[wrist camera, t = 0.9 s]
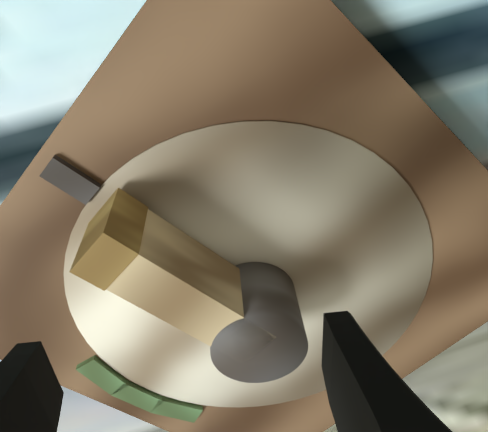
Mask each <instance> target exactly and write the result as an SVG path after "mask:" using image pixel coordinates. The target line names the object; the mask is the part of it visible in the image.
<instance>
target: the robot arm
mask: <svg viewBox="0 0 488 432" xmlns="http://www.w3.org/2000/svg"><path fill="white" fill-rule="evenodd" d="M321 367H322V371H323V376H324V381H325V386H326V391H327V396H328V400H329V405H330V408H331V411H332V414H333V418H334V421H335V424H336V427H337V430H338V432H452V431H451V430H450V429H449V428H448V427H447V426H446V425H445V424H444V423H443V422H442V421H441V420H440V419H439V418H438V417H437V416H436V415H435V414H434V413H433V412H432V411H431V410H430V409H429V408H428V407H427V406H426V405H425V404H424V403H423V402H422V401H421V400H420V399H419V398H418V396H417V395H416V394H415V393H414V392H413V391H412V390H411V389H410V388H409V387H408V385H407V384H406V383H405V382H404V381H403V380H402V379H401V377H400V376H399V375H398V374H397V373H396V372H395V370H394V369H393V368H392V367H391V366H390V365H389V363H388V362H387V361H386V360H385V359H384V357H383V356H382V355H381V354H380V352H379V351H378V350H377V349H376V347H375V346H374V345H373V343H372V342H371V341H370V340H369V338H368V337H367V336H366V334H365V333H364V332H363V330H362V329H361V327H360V326H359V325H358V323H357V322H356V320H355V319H354V317H353V316H352V314H351V313H349V312H348V311H340V312H330V313H324V315H323V340H322V365H321ZM62 399H63V390H62V388H61V386H60V383H59V381H58V379H57V377H56V374H55V372H54V370H53V367H52V365H51V363H50V361H49V358H48V356H47V354H46V351H45V349H44V347H43V345H42V342H41V341H37V342H27V343H17V344H16V345H15V346H14V347H13V348H12V349H11V351H10V352H9V353H8V354H7V355H6V356H5V357H4V359H3V360H2V361H1V362H0V432H57V427H58V422H59V417H60V411H61V405H62Z"/></svg>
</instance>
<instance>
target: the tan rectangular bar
mask: <svg viewBox="0 0 488 432" xmlns="http://www.w3.org/2000/svg"><path fill="white" fill-rule="evenodd" d="M69 272H70V273H72V274H74V275H76V276H78V277H79V278H81V279H83V280H85V281H87V282H89V283H90V284H92V285H94V286H96V287H98V288H100V289H102V290H103V291H105V290H108V291H110V292H111V293H113V294H115V295H117V296H119V297H121V298H122V299H124V300H126V301H128V302H130V303H132V304H133V305H135V306H137V307H139V308H141V309H143V310H144V311H146V312H148V313H150V314H152V315H154V316H155V317H157V318H159V319H161V320H163V321H165V322H167V323H168V324H170V325H172V326H174V327H176V328H178V329H179V330H181V331H183V332H185V333H187V334H189V335H190V336H192V337H194V338H196V339H198V340H200V341H201V342H203V343H205V344H207V345H209V346H210V356H211V360H212V362H213V364H214V366H215V367H216V368H217V369H218V371H219V372H221V373H222V374H223V375H225V376H227V377H229V378H231V379H233V380H236V381H240V382H246V383H263V382H269V381H273V380H276V379H279V378H282V377H284V376H286V375H288V374H290V373H291V372H293V371H294V370H295V369H296V368H298V367H299V366H300V364H301V363H302V362H303V360H304V359H305V357H306V355H307V352H308V340H307V336H306V332H305V328H304V324H303V320H302V316H301V312H300V308H299V303H298V299H297V295H296V291H295V287H294V284H293V281H292V279H291V278H290V276H289V275H288V274H287V273H286V272H285V271H283V270H282V269H280V268H279V267H277V266H274V265H272V264H268V263H263V262H248V263H242V264H238V265H236V266H235V265H233V264H232V263H230V262H228V261H227V260H225V259H224V258H222V257H221V256H219V255H218V254H216V253H215V252H213V251H212V250H210V249H209V248H207V247H206V246H204V245H202V244H201V243H199V242H198V241H196V240H195V239H193V238H192V237H190V236H189V235H187V234H186V233H184V232H183V231H181V230H179V229H178V228H176V227H175V226H173V225H172V224H170V223H169V222H167V221H166V220H164V219H163V218H161V217H160V216H158V215H157V214H155V213H153V212H152V211H150V210H149V209H148V207H147V206H146V205H144V204H143V203H141V202H140V201H138V200H137V199H135V198H134V197H132V196H131V195H129V194H128V193H126V192H125V191H123V190H121V189H120V188H117V189H116V191H115V192H114V193H113V194H112V195H111V197H110V198H109V199H108V200H107V201H106V203H105V204H104V205H103V206H102V207H101V209H100V210H99V211H98V212H97V213H96V215H95V216H94V217H93V218H92V219H91V221H90V222H89V223H88V226H87V228H86V231H85V233H84V236H83V238H82V241H81V243H80V246H79V248H78V251H77V254H76V256H75V259H74V261H73V264H72V266H71V269H70V271H69Z"/></svg>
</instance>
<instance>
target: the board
mask: <svg viewBox="0 0 488 432" xmlns="http://www.w3.org/2000/svg"><path fill="white" fill-rule="evenodd" d="M117 188H120V189H121V190H123V191H125V192H126V193H128V194H129V195H131V196H132V197H134V198H135V199H137V200H138V201H140V202H141V203H143V204H144V205H146V206H147V207H148V209H149V210H150V211H152V212H153V213H155V214H157V215H158V216H160V217H161V218H163V219H164V220H166V221H167V222H169V223H170V224H172V225H173V226H175V227H176V228H178V229H179V230H181V231H183V232H184V233H186V234H187V235H189V236H190V237H192V238H193V239H195V240H196V241H198V242H199V243H201V244H202V245H204V246H206V247H207V248H209V249H210V250H212V251H213V252H215V253H216V254H218V255H219V256H221V257H222V258H224V259H225V260H227V261H228V262H230V263H232V264H233V265H235V266H236V265H238V264H242V263H248V262H263V263H268V264H272V265H274V266H277V267H279V268H280V269H282V270H283V271H285V272H286V273H287V274H288V275H289V276H290V278H291V279H292V281H293V284H294V287H295V291H296V295H297V299H298V303H299V308H300V312H301V316H302V320H303V324H304V328H305V332H306V336H307V340H308V352H307V355H306V357H305V359H304V360H303V362H302V363H301V364H300V366H299V367H298V368H296V369H295V370H294V371H293V372H291V373H290V374H288V375H286V376H284V377H282V378H279V379H276V380H273V381H269V382H263V383H246V382H240V381H236V380H233V379H231V378H229V377H227V376H225V375H223V374H222V373H221V372H219V371H218V369H217V368H216V367H215V366H214V364H213V362H212V360H211V356H210V346H209V345H207V344H205V343H203V342H201V341H200V340H198V339H196V338H194V337H192V336H190V335H189V334H187V333H185V332H183V331H181V330H179V329H178V328H176V327H174V326H172V325H170V324H168V323H167V322H165V321H163V320H161V319H159V318H157V317H155V316H154V315H152V314H150V313H148V312H146V311H144V310H143V309H141V308H139V307H137V306H135V305H133V304H132V303H130V302H128V301H126V300H124V299H122V298H121V297H119V296H117V295H115V294H113V293H111V292H110V291H108V290H105V291H103V290H102V289H100V288H98V287H96V286H94V285H92V284H90V283H89V282H87V281H85V280H83V279H81V278H79V277H78V276H76V275H74V274H72V273H70V272H69V271H70V269H71V266H72V264H73V261H74V259H75V256H76V254H77V251H78V248H79V246H80V243H81V241H82V238H83V236H84V233H85V231H86V228H87V226H88V223H89V222H90V221H91V219H92V218H93V217H94V216H95V215H96V213H97V212H98V211H99V210H100V209H101V207H102V206H103V205H104V204H105V203H106V201H107V200H108V199H109V198H110V197H111V195H112V194H113V193H114V192H115V191H116V189H117ZM340 311H348V312H349V313H351V314H352V316H353V317H354V319H355V320H356V322H357V323H358V325H359V326H360V327H361V329H362V330H363V332H364V333H365V334H366V336H367V337H368V338H369V340H370V341H371V342H372V343H373V345H374V346H375V347H376V349H377V350H378V351H379V352H380V354H381V355H382V356H383V357H384V359H385V360H386V361H387V362H388V363H389V365H390V366H391V367H392V368H393V369H394V370H395V372H396V373H397V374H398V375H399V376H400V377H401V379H402V378H404V377H405V376H407V375H408V374H410V373H411V372H413V371H414V370H416V369H417V368H419V367H420V366H422V365H423V364H425V363H426V362H428V361H429V360H431V359H432V358H434V357H435V356H437V355H438V354H440V353H441V352H443V351H444V350H446V349H447V348H449V347H450V346H452V345H453V344H455V343H456V342H458V341H459V340H461V339H462V338H464V337H465V336H467V335H468V334H469V333H471V332H472V331H474V330H475V329H477V328H478V327H480V326H481V325H483V324H484V323H486V322H487V321H488V170H487V169H486V168H485V167H484V166H483V165H482V164H481V163H480V162H479V160H478V159H477V158H476V157H475V156H474V155H473V154H472V153H471V152H470V151H469V150H468V149H467V147H466V146H465V145H464V144H463V143H462V142H461V141H460V140H459V139H458V138H457V137H456V136H455V134H454V133H453V132H452V131H451V130H450V129H449V128H448V127H447V126H446V125H445V124H444V123H443V121H442V120H441V119H440V118H439V117H438V116H437V115H436V114H435V113H434V112H433V111H432V110H431V108H430V107H429V106H428V105H427V104H426V103H425V102H424V101H423V100H422V99H421V98H420V97H419V95H418V94H417V93H416V92H415V91H414V90H413V89H412V88H411V87H410V86H409V85H408V84H407V83H406V81H405V80H404V79H403V78H402V77H401V76H400V75H399V74H398V73H397V72H396V71H395V70H394V68H393V67H392V66H391V65H390V64H389V63H388V62H387V61H386V60H385V59H384V58H383V57H382V55H381V54H380V53H379V52H378V51H377V50H376V49H375V48H374V47H373V46H372V45H371V44H370V42H369V41H368V40H367V39H366V38H365V37H364V36H363V35H362V34H361V33H360V32H359V31H358V29H357V28H356V27H355V26H354V25H353V24H352V23H351V22H350V21H349V20H348V19H347V18H346V16H345V15H344V14H343V13H342V12H341V11H340V10H339V9H338V8H337V7H336V6H335V5H334V3H333V2H332V1H331V0H147V1H146V2H145V4H144V5H143V7H142V8H141V9H140V11H139V12H138V14H137V15H136V16H135V18H134V19H133V21H132V22H131V23H130V25H129V26H128V28H127V29H126V30H125V32H124V33H123V35H122V36H121V37H120V39H119V40H118V42H117V43H116V44H115V46H114V47H113V49H112V50H111V51H110V53H109V54H108V56H107V57H106V58H105V60H104V61H103V63H102V64H101V65H100V67H99V68H98V70H97V71H96V72H95V74H94V75H93V77H92V78H91V79H90V81H89V82H88V84H87V85H86V86H85V88H84V89H83V91H82V92H81V93H80V95H79V96H78V98H77V99H76V100H75V102H74V103H73V105H72V106H71V107H70V109H69V110H68V112H67V113H66V114H65V116H64V117H63V119H62V120H61V121H60V123H59V124H58V126H57V127H56V128H55V130H54V131H53V133H52V134H51V135H50V137H49V138H48V140H47V141H46V142H45V144H44V145H43V147H42V148H41V149H40V151H39V152H38V154H37V155H36V156H35V158H34V159H33V161H32V162H31V163H30V165H29V166H28V168H27V169H26V170H25V172H24V173H23V175H22V176H21V177H20V179H19V180H18V182H17V183H16V184H15V186H14V187H13V189H12V190H11V191H10V193H9V194H8V196H7V197H6V198H5V200H4V201H3V203H2V204H1V205H0V360H3V359H4V357H5V356H6V355H7V354H8V353H9V352H10V351H11V349H12V348H13V347H14V346H15V345H16V344H17V343H27V342H37V341H41V342H42V345H43V347H44V349H45V351H46V354H47V356H48V358H49V361H50V363H51V365H52V367H53V370H54V372H55V374H56V377H57V379H58V381H59V383H60V385H61V386H64V387H66V388H68V389H71V390H73V391H75V392H78V393H80V394H82V395H85V396H87V397H89V398H92V399H94V400H96V401H99V402H101V403H103V404H106V405H108V406H110V407H113V408H115V409H117V410H120V411H122V412H124V413H127V414H129V415H131V416H134V417H136V418H138V419H141V420H143V421H145V422H148V423H150V424H153V425H155V426H157V427H160V428H162V429H164V430H167V431H169V432H323V431H325V430H326V429H328V428H329V427H331V426H332V425H334V424H335V421H334V418H333V414H332V411H331V408H330V405H329V400H328V396H327V391H326V386H325V381H324V376H323V371H322V367H321V365H322V340H323V315H324V313H330V312H340Z"/></svg>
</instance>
